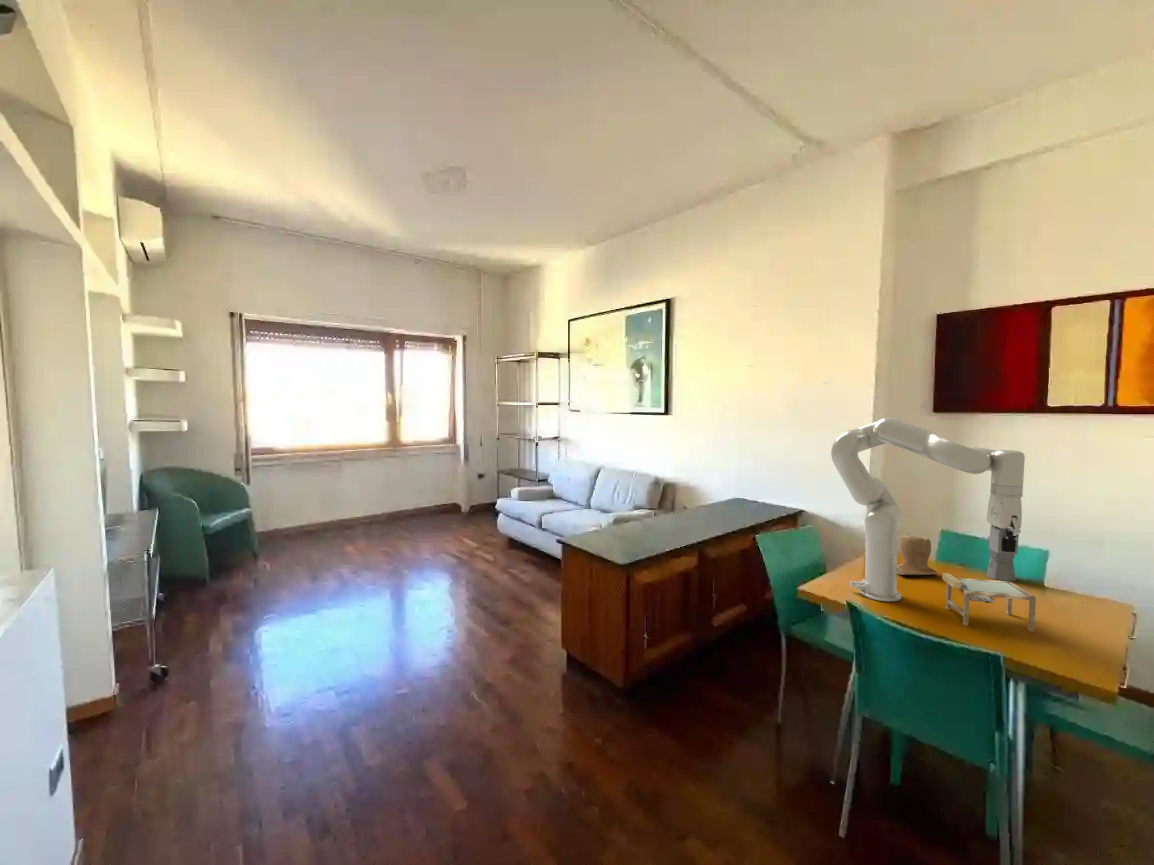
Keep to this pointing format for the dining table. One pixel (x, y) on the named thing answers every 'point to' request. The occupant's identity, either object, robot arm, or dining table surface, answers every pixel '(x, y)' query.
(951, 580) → the trapdoor
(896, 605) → the dining table surface
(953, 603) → the trapdoor frame
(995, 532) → the granite block
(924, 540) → the stone cup
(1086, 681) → the dining table surface
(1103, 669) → the dining table surface
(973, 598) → the stone fragment
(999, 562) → the coffeepot
